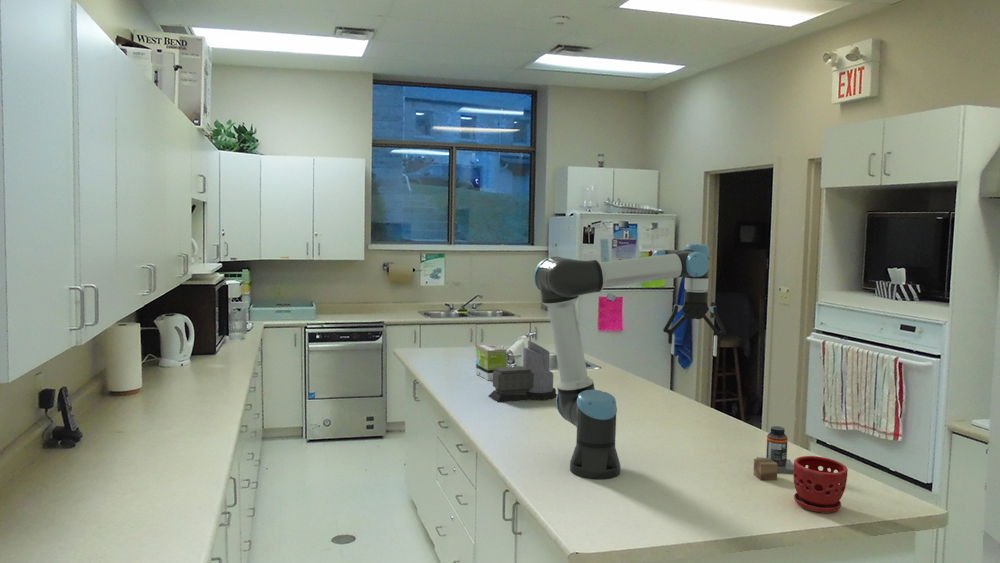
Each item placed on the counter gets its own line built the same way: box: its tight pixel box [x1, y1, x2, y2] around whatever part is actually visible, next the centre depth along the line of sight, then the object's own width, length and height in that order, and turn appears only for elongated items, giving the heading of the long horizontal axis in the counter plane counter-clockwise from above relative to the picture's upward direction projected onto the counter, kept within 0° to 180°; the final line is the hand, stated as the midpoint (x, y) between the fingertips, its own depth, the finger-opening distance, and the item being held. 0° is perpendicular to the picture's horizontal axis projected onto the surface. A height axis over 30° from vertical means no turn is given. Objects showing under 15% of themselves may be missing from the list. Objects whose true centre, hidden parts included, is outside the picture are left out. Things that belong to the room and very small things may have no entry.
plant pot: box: [792, 455, 849, 514], centre depth 193 cm, size 13×13×12 cm
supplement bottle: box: [765, 425, 789, 466], centre depth 225 cm, size 6×6×11 cm
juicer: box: [488, 340, 558, 403], centre depth 311 cm, size 30×16×24 cm, turn 111°
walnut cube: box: [753, 458, 778, 481], centre depth 216 cm, size 5×5×5 cm
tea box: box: [475, 343, 507, 381], centre depth 350 cm, size 15×10×15 cm, turn 25°
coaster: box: [756, 456, 794, 475], centre depth 225 cm, size 10×10×1 cm
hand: (693, 354), depth 240 cm, fingers open, 13 cm apart
